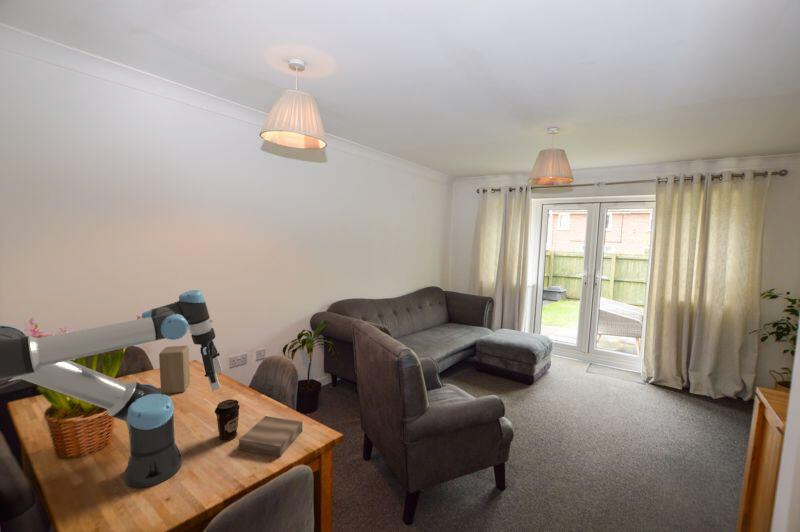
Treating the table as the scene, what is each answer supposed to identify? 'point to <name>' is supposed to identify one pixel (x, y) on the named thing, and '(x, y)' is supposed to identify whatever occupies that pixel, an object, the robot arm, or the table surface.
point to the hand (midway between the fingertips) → (217, 380)
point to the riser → (271, 436)
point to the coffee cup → (227, 419)
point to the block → (174, 369)
